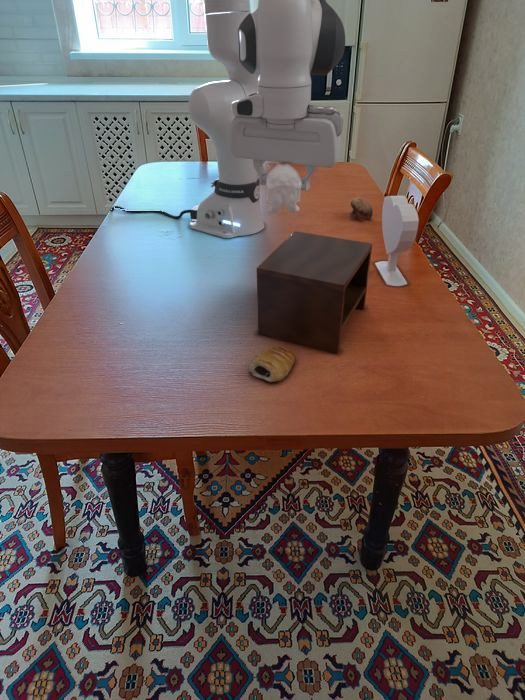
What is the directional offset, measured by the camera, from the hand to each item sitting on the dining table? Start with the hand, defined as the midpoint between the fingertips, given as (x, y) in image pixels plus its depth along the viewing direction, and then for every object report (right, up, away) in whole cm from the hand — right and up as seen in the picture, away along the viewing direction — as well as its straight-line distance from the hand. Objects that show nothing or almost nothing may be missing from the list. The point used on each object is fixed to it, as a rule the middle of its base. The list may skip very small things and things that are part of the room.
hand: (284, 186), depth 90 cm
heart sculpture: (+28, -11, +31) cm, 43 cm away
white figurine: (0, -3, +2) cm, 4 cm away
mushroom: (+26, +11, +61) cm, 67 cm away
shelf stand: (+7, -24, +14) cm, 28 cm away
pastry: (-2, -34, 0) cm, 34 cm away
